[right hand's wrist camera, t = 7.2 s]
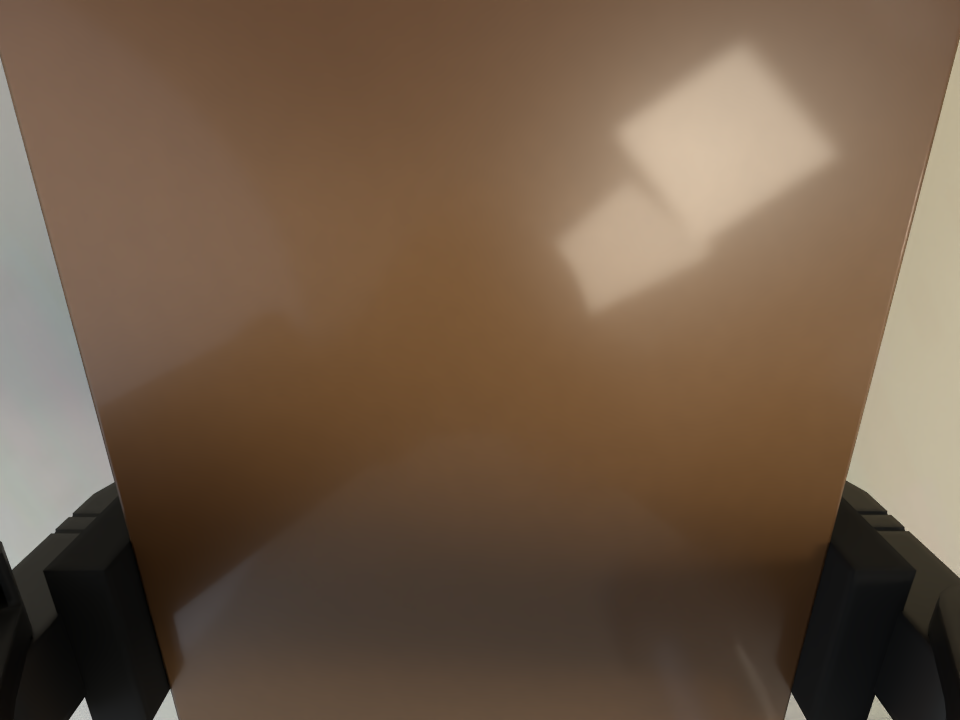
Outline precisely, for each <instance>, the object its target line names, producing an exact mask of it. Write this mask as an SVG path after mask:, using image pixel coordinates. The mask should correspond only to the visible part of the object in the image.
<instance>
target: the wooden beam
mask: <svg viewBox="0 0 960 720" xmlns="http://www.w3.org/2000/svg"><path fill="white" fill-rule="evenodd" d="M959 39H960V0H0V57H1V61H2V65H3V68H4V72H5V76H6V79H7V83H8V87H9V91H10V94H11V98H12V102H13V105H14V109H15V113H16V117H17V120H18V124H19V128H20V131H21V135H22V139H23V143H24V146H25V150H26V154H27V158H28V161H29V165H30V169H31V172H32V176H33V180H34V184H35V187H36V191H37V195H38V198H39V202H40V206H41V210H42V213H43V217H44V221H45V224H46V228H47V232H48V236H49V239H50V243H51V247H52V250H53V254H54V258H55V262H56V265H57V269H58V273H59V277H60V280H61V284H62V288H63V291H64V295H65V299H66V303H67V306H68V310H69V314H70V317H71V321H72V325H73V329H74V332H75V336H76V340H77V343H78V347H79V351H80V355H81V358H82V362H83V366H84V369H85V373H86V377H87V381H88V384H89V388H90V392H91V396H92V399H93V403H94V407H95V410H96V414H97V418H98V422H99V425H100V429H101V433H102V436H103V440H104V444H105V448H106V451H107V455H108V459H109V462H110V466H111V470H112V474H113V477H114V481H115V485H116V488H117V492H118V496H119V500H120V503H121V507H122V511H123V515H124V518H125V522H126V526H127V529H128V533H129V537H130V541H131V544H132V548H133V552H134V555H135V559H136V563H137V567H138V570H139V574H140V578H141V581H142V585H143V589H144V593H145V596H146V600H147V604H148V607H149V611H150V615H151V619H152V622H153V626H154V630H155V634H156V637H157V641H158V645H159V648H160V652H161V656H162V660H163V663H164V667H165V671H166V674H167V678H168V682H169V686H170V689H171V693H172V697H173V700H174V704H175V708H176V712H177V715H178V719H179V720H784V718H785V714H786V710H787V707H788V703H789V699H790V695H791V689H792V686H793V682H794V678H795V674H796V670H797V667H798V663H799V659H800V655H801V651H802V647H803V644H804V640H805V636H806V632H807V628H808V625H809V621H810V617H811V613H812V609H813V605H814V602H815V598H816V594H817V590H818V586H819V582H820V578H821V575H822V571H823V567H824V563H825V559H826V555H827V551H828V547H829V544H830V540H831V536H832V532H833V528H834V524H835V520H836V516H837V512H838V509H839V505H840V501H841V497H842V493H843V489H844V485H845V481H846V478H847V474H848V470H849V466H850V462H851V458H852V454H853V450H854V446H855V443H856V439H857V435H858V431H859V427H860V423H861V419H862V415H863V412H864V408H865V404H866V400H867V396H868V392H869V388H870V384H871V380H872V377H873V373H874V369H875V365H876V361H877V357H878V353H879V349H880V346H881V342H882V338H883V334H884V330H885V326H886V322H887V318H888V314H889V311H890V307H891V303H892V299H893V295H894V291H895V287H896V283H897V280H898V276H899V272H900V268H901V264H902V260H903V256H904V252H905V248H906V245H907V241H908V237H909V233H910V229H911V225H912V221H913V217H914V214H915V210H916V206H917V202H918V198H919V194H920V190H921V186H922V182H923V179H924V175H925V171H926V167H927V163H928V159H929V155H930V151H931V148H932V144H933V140H934V136H935V132H936V128H937V124H938V120H939V116H940V113H941V109H942V105H943V101H944V97H945V93H946V89H947V85H948V82H949V78H950V74H951V70H952V66H953V62H954V58H955V54H956V50H957V47H958V43H959Z"/></svg>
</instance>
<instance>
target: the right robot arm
mask: <svg viewBox="0 0 960 720" xmlns="http://www.w3.org/2000/svg"><path fill="white" fill-rule="evenodd" d="M169 690H170V686H169V682H168V678H167V674H166V671H165V667H164V663H163V660H162V656H161V652H160V648H159V645H158V641H157V637H156V634H155V630H154V626H153V622H152V619H151V615H150V611H149V607H148V604H147V600H146V596H145V593H144V589H143V585H142V581H141V578H140V574H139V570H138V567H137V563H136V559H135V555H134V552H133V548H132V544H131V541H130V537H129V533H128V529H127V526H126V522H125V518H124V515H123V511H122V507H121V503H120V500H119V496H118V492H117V488H116V485H115V482H114V483H112V484H111V485H109V486H107V487H105V488H104V489H102V490H100V491H98V492H97V493H95V494H93V495H92V496H91V497H90V498H89V499H88V500H87V501H86V502H85V503H83V504H82V505H81V506H80V507H79V508H78V509H77V510H76V511H75V512H74V513H73V516H72V517H68V518H67V519H66V520H65V521H64V522H63V523H62V524H61V525H60V526H59V527H58V528H57V529H56V532H55V534H50V535H49V536H48V537H47V538H46V539H45V540H44V541H43V542H42V543H40V544H39V545H38V546H37V547H36V548H35V549H34V550H33V551H32V552H31V553H30V554H29V555H28V556H26V557H25V558H24V559H23V560H22V561H21V562H20V563H19V564H18V565H17V566H16V567H15V568H14V569H13V570H12V569H11V567H10V564H9V561H8V558H7V556H6V553H5V550H4V547H3V544H2V542H1V541H0V720H69V719H70V717H71V716H72V714H73V713H74V712H75V710H76V709H77V707H78V706H79V705H80V703H81V702H82V700H83V699H84V697H85V699H86V702H87V705H88V708H89V711H90V714H91V717H92V720H153V718H154V717H155V715H156V713H157V711H158V709H159V708H160V706H161V704H162V702H163V700H164V699H165V697H166V695H167V693H168V692H169ZM791 692H792V694H793V696H794V698H795V700H796V701H797V703H798V705H799V707H800V709H801V710H802V712H803V714H804V716H805V717H806V719H807V720H867V718H868V715H869V712H870V709H871V706H872V703H873V700H874V697H875V695H876V696H877V698H878V699H879V701H880V702H881V703H882V705H883V706H884V708H885V709H886V711H887V712H888V713H889V715H890V716H891V718H892V719H893V720H960V578H959V577H958V576H957V575H956V574H955V573H954V572H952V571H951V570H950V569H949V568H948V567H947V566H946V565H945V564H944V563H943V562H942V561H941V560H939V559H938V558H937V557H936V556H935V555H934V554H933V553H932V552H931V551H930V550H929V549H928V548H926V547H925V546H924V545H923V544H922V543H921V542H920V541H919V540H918V539H917V538H916V537H915V536H913V535H912V534H911V533H910V532H909V531H905V529H904V526H903V525H902V524H900V523H899V522H898V521H897V520H896V519H895V518H894V517H893V516H892V515H888V514H887V511H886V510H885V509H884V508H883V507H882V506H881V505H880V504H879V503H878V502H877V501H876V500H875V499H873V498H872V497H871V496H870V495H869V494H868V493H867V492H865V491H864V490H862V489H860V488H858V487H856V486H855V485H853V484H851V483H849V482H848V481H845V485H844V489H843V493H842V497H841V501H840V505H839V509H838V512H837V516H836V520H835V524H834V528H833V532H832V536H831V540H830V544H829V547H828V551H827V555H826V559H825V563H824V567H823V571H822V575H821V578H820V582H819V586H818V590H817V594H816V598H815V602H814V605H813V609H812V613H811V617H810V621H809V625H808V628H807V632H806V636H805V640H804V644H803V647H802V651H801V655H800V659H799V663H798V667H797V670H796V674H795V678H794V682H793V686H792V689H791Z"/></svg>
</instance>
